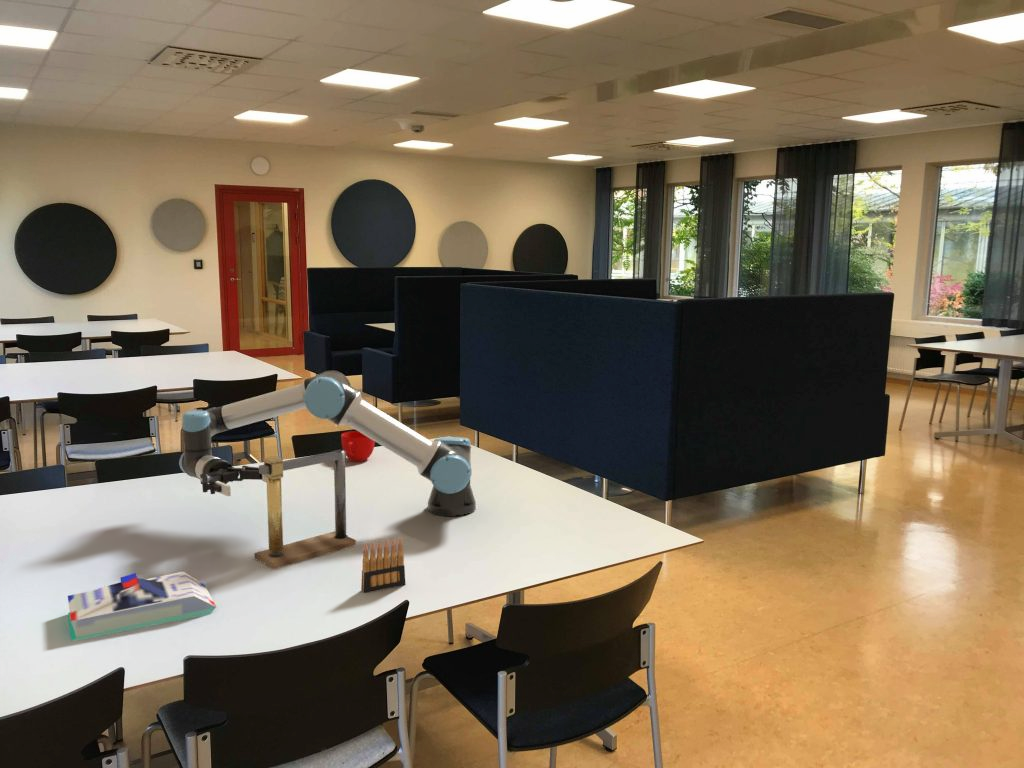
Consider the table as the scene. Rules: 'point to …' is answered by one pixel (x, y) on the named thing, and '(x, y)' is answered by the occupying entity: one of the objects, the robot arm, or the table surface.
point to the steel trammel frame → (339, 481)
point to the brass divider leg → (274, 503)
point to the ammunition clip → (383, 567)
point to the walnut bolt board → (304, 550)
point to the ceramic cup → (357, 446)
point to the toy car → (137, 604)
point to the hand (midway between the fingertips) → (253, 485)
